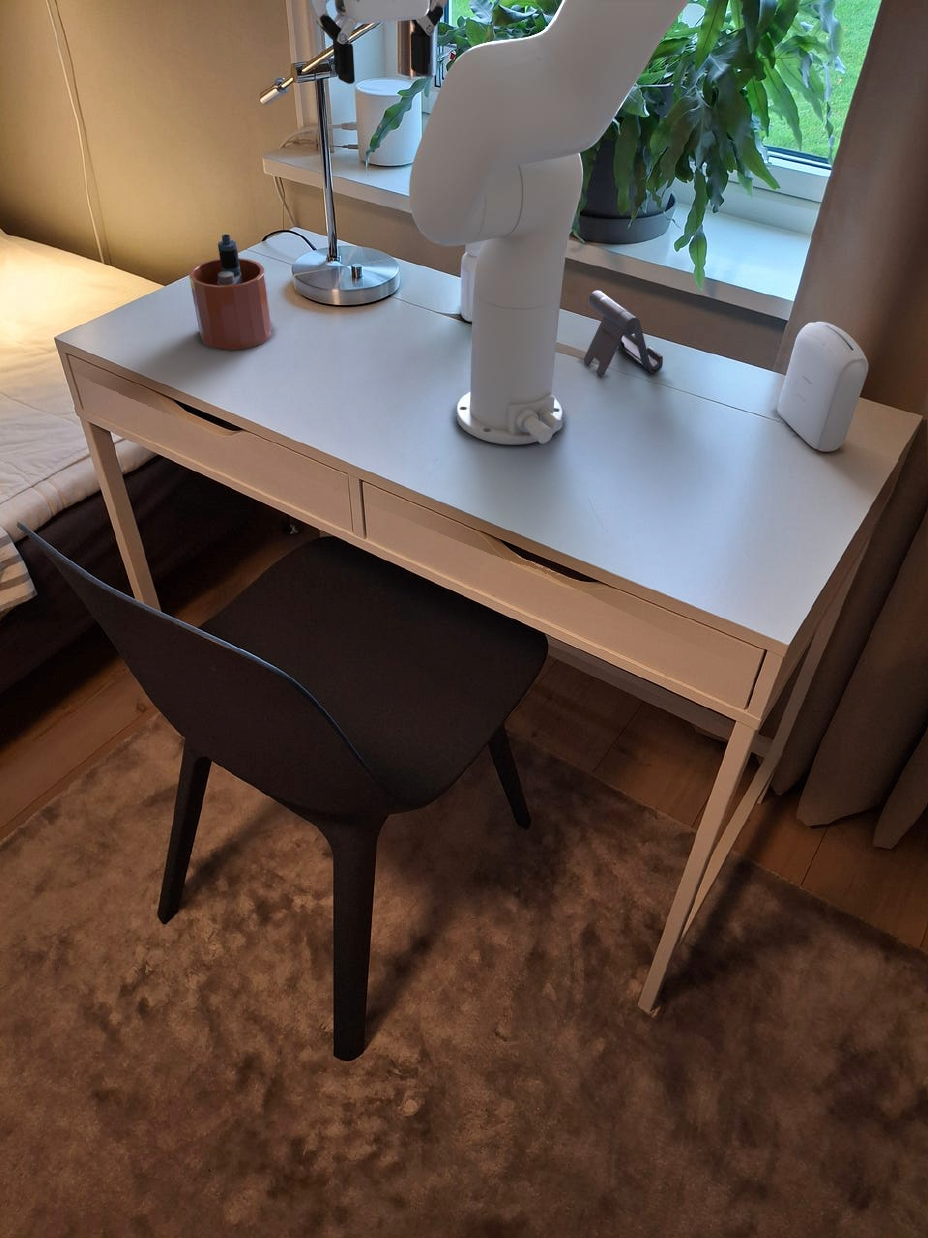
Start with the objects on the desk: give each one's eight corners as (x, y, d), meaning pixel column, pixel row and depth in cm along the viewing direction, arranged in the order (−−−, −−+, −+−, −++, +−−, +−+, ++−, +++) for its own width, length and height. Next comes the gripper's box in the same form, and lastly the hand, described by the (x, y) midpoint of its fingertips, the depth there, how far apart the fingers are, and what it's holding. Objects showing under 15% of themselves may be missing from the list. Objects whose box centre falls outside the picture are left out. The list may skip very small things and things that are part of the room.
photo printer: (770, 410, 113) (797, 313, 105) (801, 406, 114) (830, 310, 105) (813, 455, 106) (846, 355, 97) (847, 451, 106) (882, 351, 98)
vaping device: (250, 321, 126) (238, 232, 118) (242, 339, 122) (228, 248, 114) (232, 321, 126) (218, 231, 118) (222, 338, 123) (207, 247, 114)
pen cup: (282, 340, 124) (274, 278, 118) (214, 355, 120) (203, 292, 114) (257, 313, 130) (248, 252, 124) (191, 327, 126) (180, 265, 120)
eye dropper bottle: (450, 318, 129) (451, 231, 121) (466, 303, 133) (468, 217, 125) (479, 324, 128) (482, 237, 120) (494, 309, 132) (498, 223, 124)
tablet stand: (662, 372, 119) (673, 310, 114) (610, 384, 117) (619, 321, 111) (625, 344, 125) (634, 283, 120) (575, 354, 123) (581, 293, 117)
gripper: (316, -103, 91) (329, 92, 103) (465, -107, 98) (463, 76, 110) (286, -109, 96) (302, 77, 108) (431, -114, 103) (432, 62, 114)
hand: (383, 76), depth 109 cm, fingers open, 9 cm apart
